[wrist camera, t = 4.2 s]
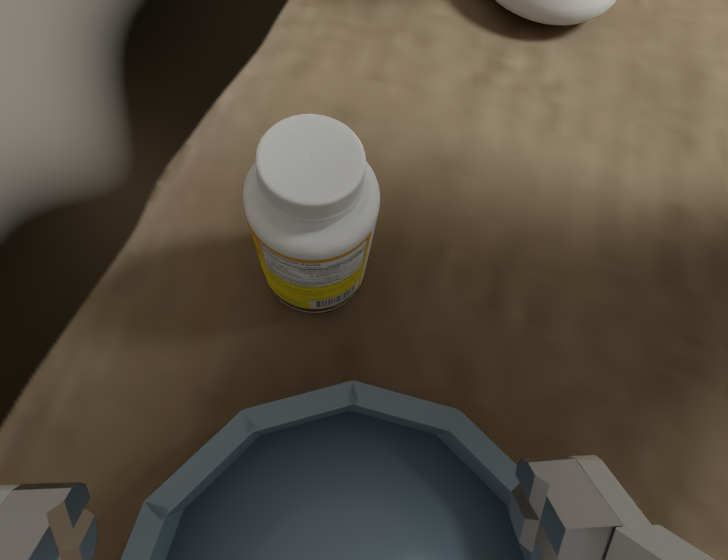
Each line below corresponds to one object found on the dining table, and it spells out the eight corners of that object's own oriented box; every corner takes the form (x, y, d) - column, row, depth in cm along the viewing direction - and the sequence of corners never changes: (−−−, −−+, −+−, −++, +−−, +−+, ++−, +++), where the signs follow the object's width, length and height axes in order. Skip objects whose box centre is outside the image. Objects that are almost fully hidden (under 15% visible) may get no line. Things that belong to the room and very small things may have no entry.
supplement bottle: (294, 210, 27) (281, 73, 18) (380, 250, 27) (413, 132, 17) (244, 289, 25) (199, 182, 16) (336, 334, 25) (347, 252, 15)
